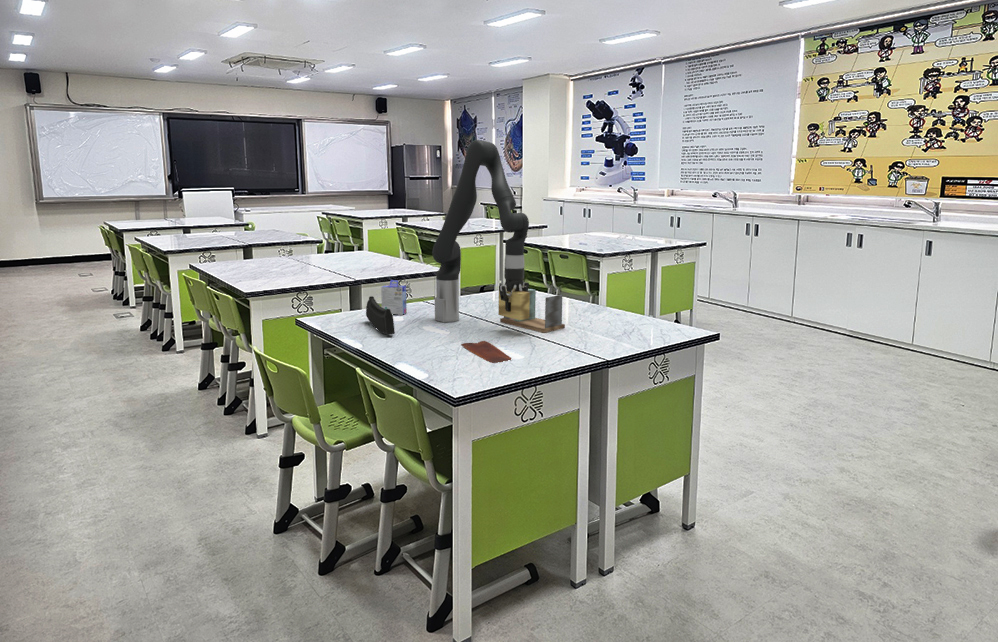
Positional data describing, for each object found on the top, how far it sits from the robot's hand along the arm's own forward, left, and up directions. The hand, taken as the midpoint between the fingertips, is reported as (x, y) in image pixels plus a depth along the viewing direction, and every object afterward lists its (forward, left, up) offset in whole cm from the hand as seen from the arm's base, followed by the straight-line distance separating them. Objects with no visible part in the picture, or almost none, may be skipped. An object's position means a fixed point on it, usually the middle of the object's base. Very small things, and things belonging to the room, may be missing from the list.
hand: (513, 310), depth 262 cm
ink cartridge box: (-16, +59, -9) cm, 62 cm away
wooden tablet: (-27, -15, -10) cm, 32 cm away
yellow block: (0, 0, -2) cm, 2 cm away
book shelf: (+14, +4, -9) cm, 17 cm away
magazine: (-36, +38, -9) cm, 53 cm away
